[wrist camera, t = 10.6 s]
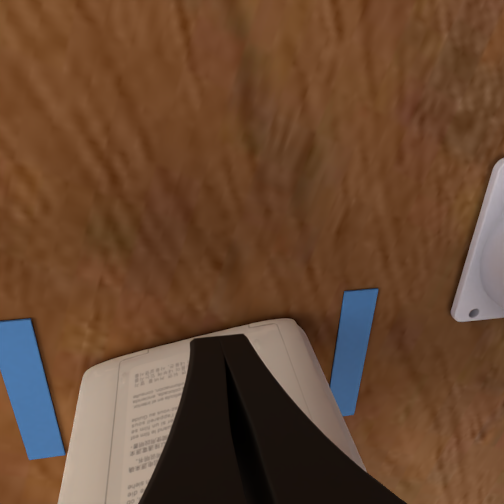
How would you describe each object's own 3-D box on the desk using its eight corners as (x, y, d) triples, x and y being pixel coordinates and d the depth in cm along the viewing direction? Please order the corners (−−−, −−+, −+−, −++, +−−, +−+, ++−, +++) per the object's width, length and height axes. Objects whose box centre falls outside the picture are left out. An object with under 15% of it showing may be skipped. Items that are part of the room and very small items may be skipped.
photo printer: (101, 427, 21) (51, 854, 11) (67, 361, 19) (-39, 815, 8) (311, 370, 22) (459, 713, 11) (301, 301, 20) (473, 644, 9)
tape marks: (377, 288, 20) (378, 289, 20) (353, 413, 24) (354, 414, 24) (-14, 322, 17) (-15, 323, 17) (29, 458, 21) (28, 460, 21)
